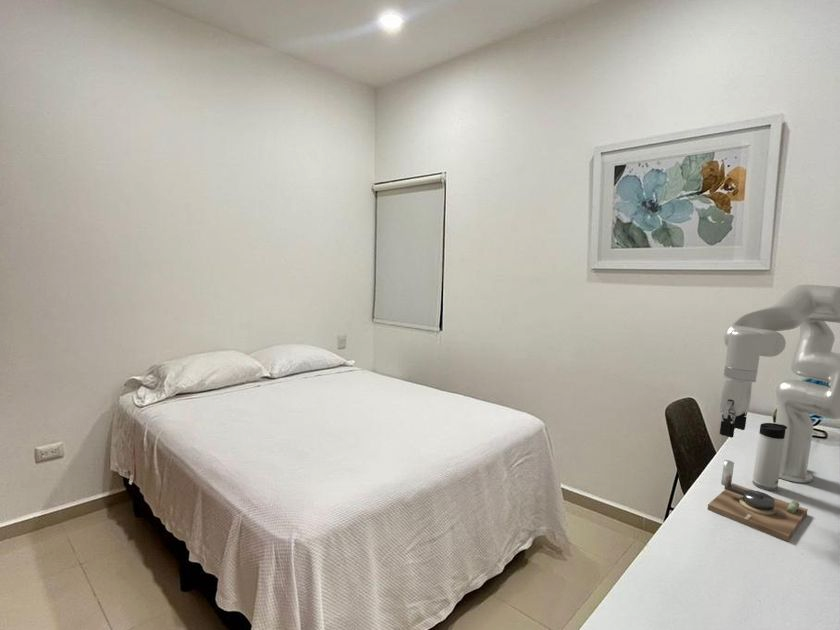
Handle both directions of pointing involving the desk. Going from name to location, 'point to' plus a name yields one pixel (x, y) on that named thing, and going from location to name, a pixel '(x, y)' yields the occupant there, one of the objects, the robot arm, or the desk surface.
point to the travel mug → (769, 456)
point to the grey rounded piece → (749, 496)
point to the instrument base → (760, 514)
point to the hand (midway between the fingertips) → (732, 432)
